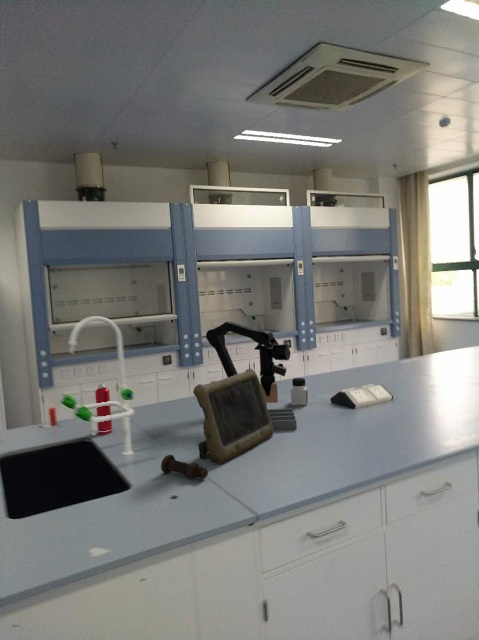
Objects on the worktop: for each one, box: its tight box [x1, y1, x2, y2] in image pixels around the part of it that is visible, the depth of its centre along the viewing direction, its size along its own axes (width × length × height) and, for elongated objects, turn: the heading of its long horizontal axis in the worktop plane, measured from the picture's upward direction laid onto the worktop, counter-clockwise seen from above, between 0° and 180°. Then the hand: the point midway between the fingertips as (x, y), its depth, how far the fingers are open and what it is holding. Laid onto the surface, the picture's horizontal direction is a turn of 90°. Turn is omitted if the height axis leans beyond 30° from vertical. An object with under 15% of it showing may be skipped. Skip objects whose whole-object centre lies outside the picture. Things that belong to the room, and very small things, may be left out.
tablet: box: [192, 368, 274, 465], centre depth 156 cm, size 33×14×25 cm, turn 148°
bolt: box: [160, 454, 209, 480], centre depth 134 cm, size 6×5×15 cm
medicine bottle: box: [290, 377, 309, 406], centre depth 210 cm, size 7×7×12 cm
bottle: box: [94, 383, 113, 436], centre depth 181 cm, size 6×5×20 cm
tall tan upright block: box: [260, 382, 279, 404], centre depth 195 cm, size 8×3×8 cm, turn 88°
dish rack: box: [267, 408, 298, 431], centre depth 181 cm, size 14×17×4 cm
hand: (268, 395), depth 195 cm, fingers closed on tall tan upright block, 3 cm apart
